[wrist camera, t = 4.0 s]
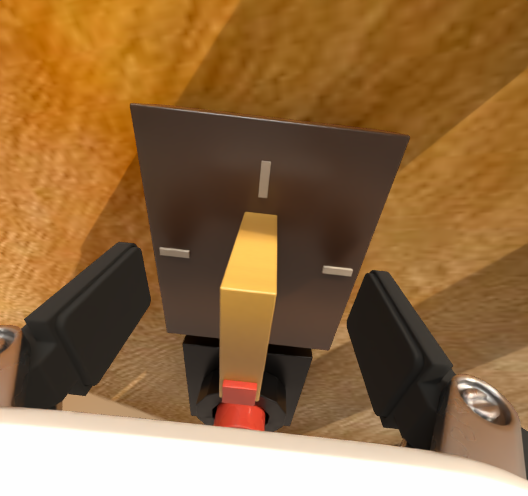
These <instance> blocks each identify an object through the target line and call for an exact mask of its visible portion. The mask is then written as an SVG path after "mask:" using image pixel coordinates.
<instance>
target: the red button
mask: <svg viewBox="0 0 528 496" xmlns="http://www.w3.org/2000/svg"><path fill="white" fill-rule="evenodd" d="M213 426H221V427H230V428H240V429H249V430H259V431H265V410H264V408H262V407H260V406H258V405H254V406H249V405H239V404H230V403H219V405H218V406H217V410H216V415H215V420H214V424H213Z"/></svg>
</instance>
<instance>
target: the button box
mask: <svg viewBox="0 0 528 496" xmlns="http://www.w3.org/2000/svg"><path fill="white" fill-rule="evenodd" d="M219 345H220V338H212V337H203V336H194V335H186V337H185V339H184V342H183V352H184V360H185V368H186V377H187V385H188V393H189V402H190V410H191V415H192V416H197V417H198V419H200V420H201V421H202V422H203V423H204V424H205V425H211V426H213V424H214V420H215V415H216V410H217V406H218V405H219V403H222V398H221V397H219ZM311 361H312V351H311V348H302V347H293V346H284V345H275V344H268V350H267V356H266V362H265V368H264V373H263V379H262V385H261V391H260V397H259V401H255V405H258V406H260V407H262V408H264V410H265V431H268V432H274V431H276V430H278V429H279V428H281V427H282V426H283V425H284V426H290V424H291V421H292V418H293V415H294V412H295V409H296V406H297V403H298V400H299V397H300V394H301V391H302V388H303V385H304V382H305V379H306V376H307V373H308V370H309V367H310V364H311Z"/></svg>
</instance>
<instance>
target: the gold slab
mask: <svg viewBox="0 0 528 496" xmlns="http://www.w3.org/2000/svg"><path fill="white" fill-rule="evenodd" d="M276 297H277V215H270V214H261V213H253V212H245V213H244V216H243V219H242V222H241V225H240V228H239V231H238V234H237V237H236V240H235V243H234V246H233V249H232V253H231V256H230V259H229V262H228V265H227V268H226V271H225V274H224V277H223V280H222V283H221V286H220V345H219V397H221V398H222V403H230V404H239V405H249V406H254V405H255V401H259V397H260V391H261V385H262V379H263V373H264V368H265V362H266V356H267V350H268V344H269V338H270V332H271V326H272V320H273V314H274V308H275V302H276Z"/></svg>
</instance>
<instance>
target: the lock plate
mask: <svg viewBox="0 0 528 496" xmlns="http://www.w3.org/2000/svg"><path fill="white" fill-rule="evenodd" d="M130 109H131V115H132V121H133V127H134V133H135V139H136V146H137V152H138V158H139V164H140V170H141V176H142V182H143V188H144V194H145V200H146V206H147V212H148V218H149V224H150V230H151V237H152V243H153V249H154V255H155V261H156V267H157V273H158V279H159V285H160V291H161V297H162V303H163V309H164V315H165V321H166V328H167V332H168V333H176V334H185V335H194V336H203V337H212V338H220V286H221V283H222V280H223V277H224V274H225V271H226V268H227V265H228V262H229V259H230V256H231V253H232V249H233V246H234V243H235V240H236V237H237V234H238V231H239V228H240V225H241V222H242V219H243V216H244V213H245V212H253V213H261V214H270V215H277V297H276V302H275V308H274V314H273V320H272V326H271V332H270V338H269V344H275V345H284V346H293V347H302V348H311V349H320V350H329V349H330V346H331V344H332V341H333V339H334V336H335V333H336V331H337V328H338V325H339V323H340V320H341V318H342V315H343V312H344V310H345V307H346V304H347V302H348V299H349V297H350V294H351V291H352V289H353V286H354V283H355V281H356V278H357V276H358V273H359V270H360V268H361V265H362V262H363V260H364V257H365V255H366V252H367V249H368V247H369V244H370V241H371V239H372V236H373V234H374V231H375V228H376V226H377V223H378V220H379V218H380V215H381V213H382V210H383V207H384V205H385V202H386V199H387V197H388V194H389V192H390V189H391V186H392V184H393V181H394V178H395V176H396V173H397V171H398V168H399V165H400V163H401V160H402V157H403V155H404V152H405V150H406V147H407V144H408V142H409V139H410V136H409V135H404V134H399V133H394V132H388V131H383V130H377V129H368V128H360V127H351V126H342V125H334V124H325V123H317V122H308V121H299V120H291V119H282V118H274V117H265V116H256V115H248V114H239V113H231V112H222V111H213V110H205V109H196V108H188V107H179V106H170V105H158V104H139V103H131V104H130Z"/></svg>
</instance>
